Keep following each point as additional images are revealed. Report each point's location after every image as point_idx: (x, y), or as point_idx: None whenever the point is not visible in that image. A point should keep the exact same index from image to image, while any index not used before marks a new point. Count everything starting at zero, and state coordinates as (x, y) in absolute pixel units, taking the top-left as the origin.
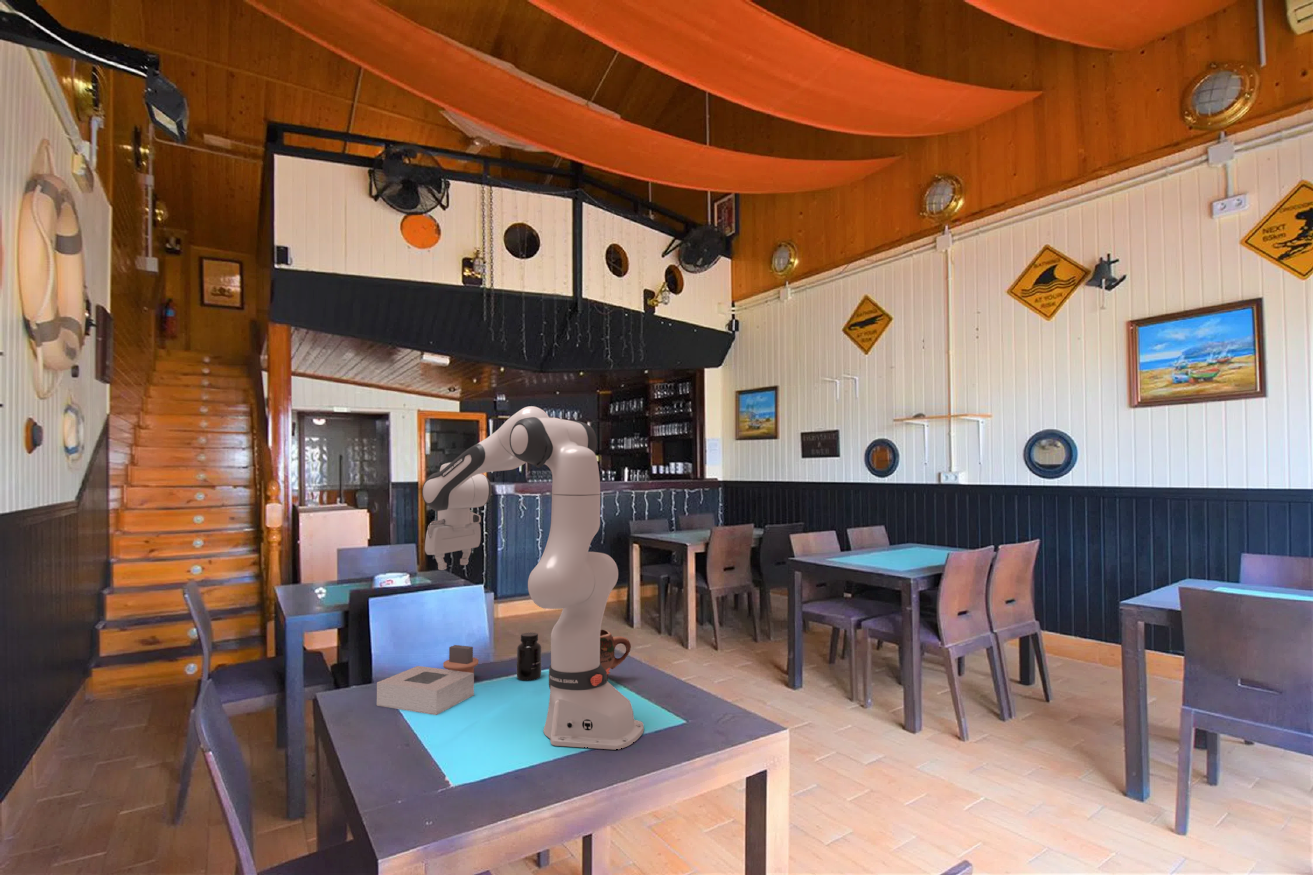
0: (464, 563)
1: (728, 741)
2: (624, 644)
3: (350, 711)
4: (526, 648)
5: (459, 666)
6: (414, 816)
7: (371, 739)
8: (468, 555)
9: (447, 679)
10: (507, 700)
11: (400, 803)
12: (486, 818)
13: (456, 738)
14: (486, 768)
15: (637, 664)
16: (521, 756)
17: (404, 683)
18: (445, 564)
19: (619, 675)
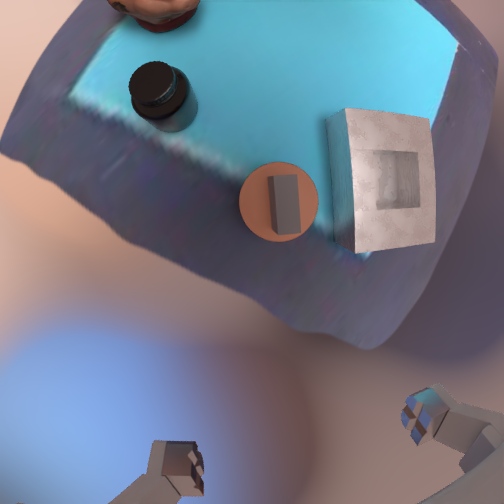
0: (194, 448)
1: None
2: None
3: (415, 266)
4: (184, 77)
5: (308, 179)
6: (482, 53)
7: (455, 167)
8: (141, 492)
9: (390, 134)
10: (296, 70)
11: (483, 69)
12: (459, 12)
13: (417, 73)
14: (432, 25)
15: (61, 26)
16: (403, 3)
17: (427, 194)
18: (436, 407)
19: None
